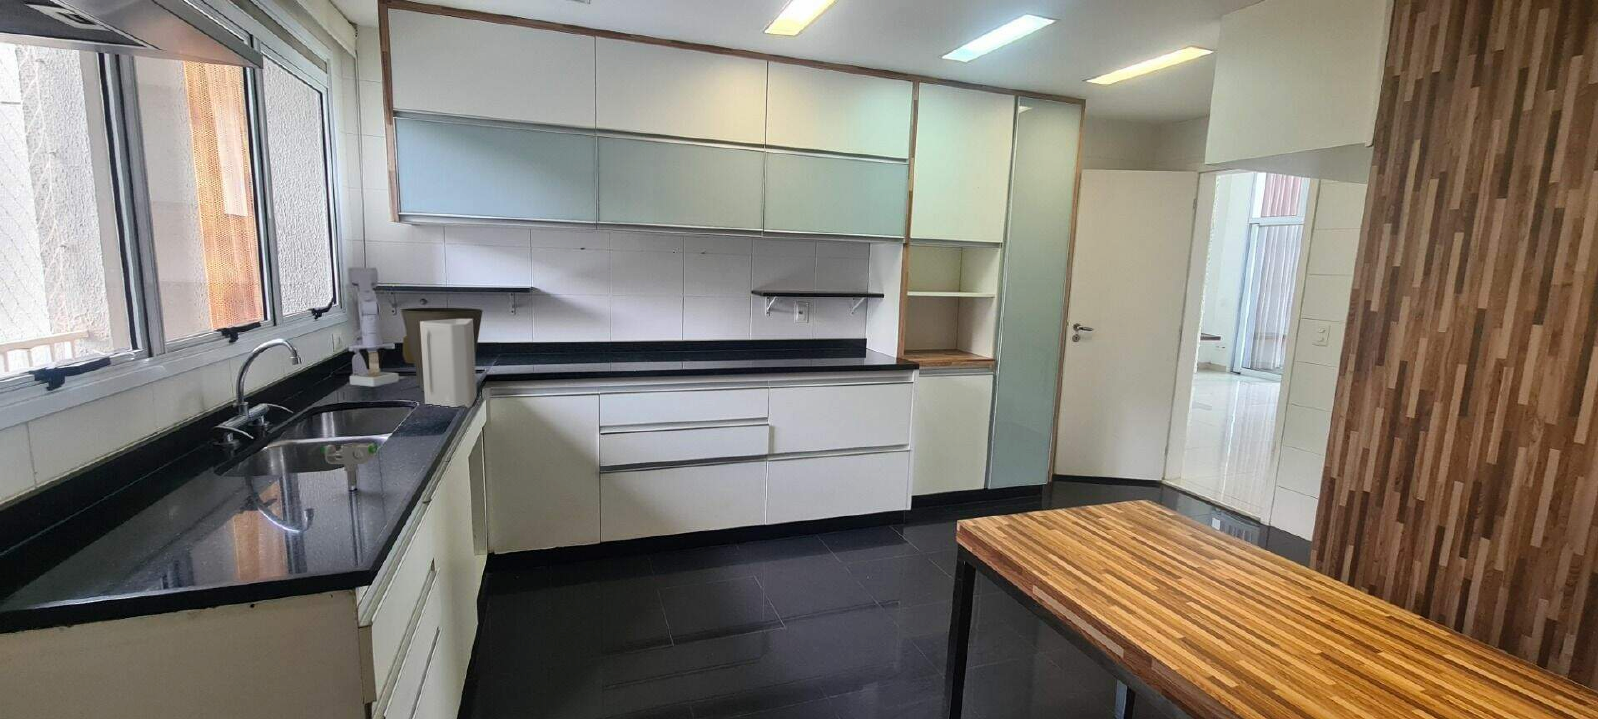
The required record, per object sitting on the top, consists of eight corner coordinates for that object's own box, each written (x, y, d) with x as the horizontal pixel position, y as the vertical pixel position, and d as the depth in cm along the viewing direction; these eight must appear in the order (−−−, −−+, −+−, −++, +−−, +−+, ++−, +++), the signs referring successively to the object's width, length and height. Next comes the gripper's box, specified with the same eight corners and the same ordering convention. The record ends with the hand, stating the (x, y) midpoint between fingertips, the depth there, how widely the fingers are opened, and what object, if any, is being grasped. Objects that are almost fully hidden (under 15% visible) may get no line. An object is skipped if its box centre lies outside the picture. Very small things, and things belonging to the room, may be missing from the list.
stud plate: (376, 380, 256) (376, 373, 256) (394, 377, 264) (393, 370, 264) (393, 382, 254) (393, 375, 254) (410, 378, 262) (409, 371, 262)
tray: (350, 386, 245) (349, 376, 244) (375, 381, 255) (375, 371, 255) (374, 388, 242) (373, 378, 241) (398, 383, 253) (398, 373, 252)
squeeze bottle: (427, 362, 301) (425, 323, 298) (412, 364, 294) (409, 325, 291) (414, 360, 304) (412, 322, 301) (398, 363, 296) (396, 324, 293)
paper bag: (430, 397, 230) (425, 318, 226) (477, 395, 235) (473, 318, 231) (420, 410, 212) (414, 324, 208) (470, 407, 217) (466, 324, 213)
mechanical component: (332, 487, 142) (328, 443, 141) (381, 487, 143) (378, 443, 142) (323, 492, 139) (319, 447, 138) (374, 491, 140) (370, 447, 139)
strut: (366, 378, 248) (364, 352, 247) (380, 377, 251) (378, 351, 250) (368, 380, 245) (366, 354, 244) (382, 379, 248) (380, 353, 246)
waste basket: (488, 382, 260) (485, 307, 255) (484, 392, 241) (480, 311, 237) (411, 385, 250) (406, 307, 246) (400, 396, 232) (394, 311, 227)
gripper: (349, 335, 238) (352, 371, 240) (395, 333, 247) (397, 368, 249) (346, 333, 243) (349, 369, 245) (391, 331, 253) (394, 365, 255)
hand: (373, 368), depth 248 cm, fingers closed on strut, 3 cm apart
